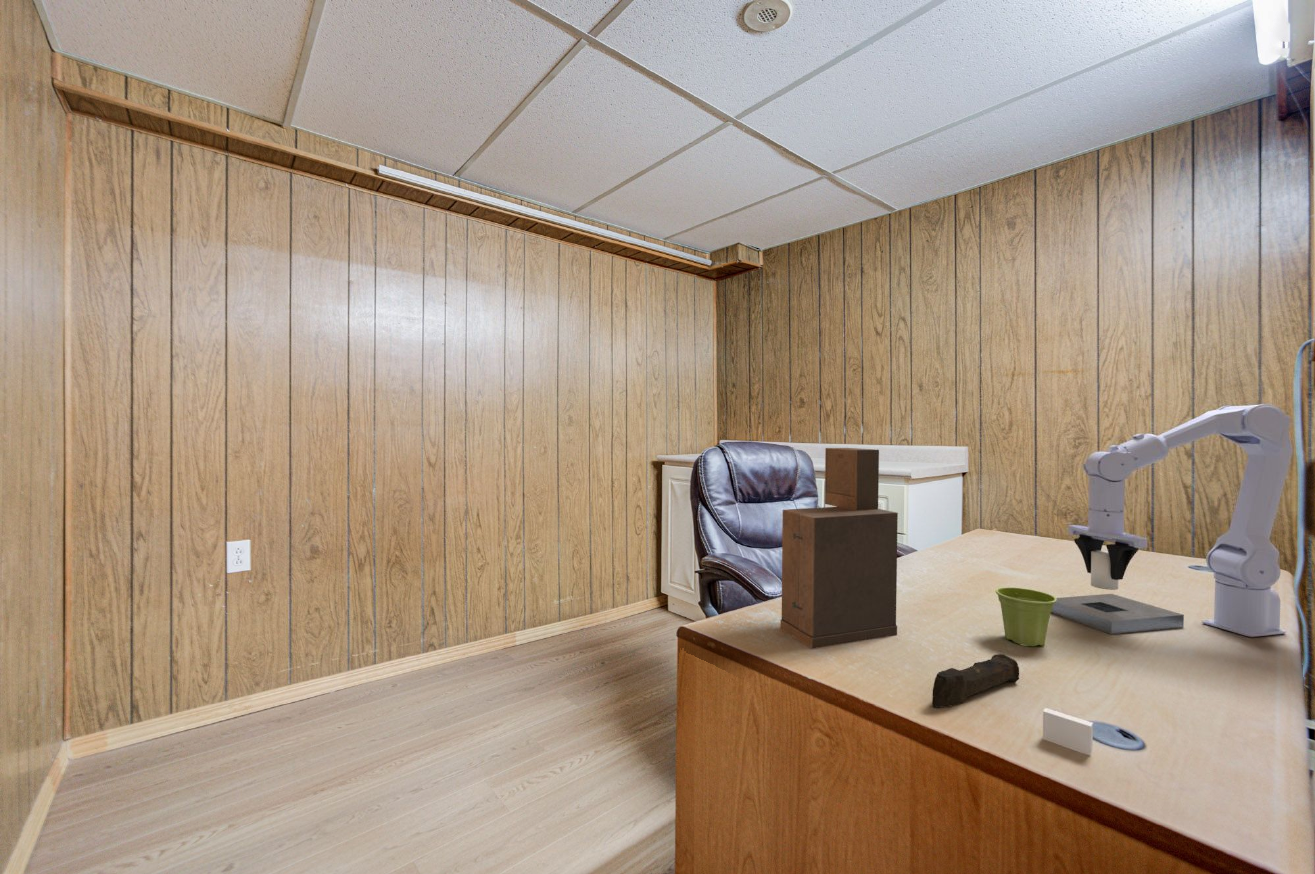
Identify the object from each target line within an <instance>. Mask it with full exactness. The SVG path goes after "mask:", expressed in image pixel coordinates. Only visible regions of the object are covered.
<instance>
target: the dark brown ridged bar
mask: <svg viewBox="0 0 1315 874" xmlns="http://www.w3.org/2000/svg"><path fill="white" fill-rule="evenodd" d="M1019 680H1020V667H1019V663H1018V662H1017V660H1016V659H1014V658H1012V657H1010V656H1008V655H1006V654H1005V653H1004V654H1002V653H998V654H993V655H992V656H991V659H990V658H989V659H987V660H983V661H978V662H974V663H973V664H972V666H969V667H966V668H963V669H961V670H960V669H957V668H954V667H951V668H950V667H949V668H947V669H944V670H941V671H939V672H937V674H936V675H935V678H934V683H933V688H932V701H931V702H932V704H931V706H932V707H934V708H944V707H945V708H946V707H947V708H948V707H951V706H955V705H961V704H963V703H965V699H966V698H967V697H969V696H971V695H975V694H978V693H982V692H984V691H985V690H987V689H990V688H992V687H995V686H998V685H1000V684H1004V683H1006V682H1007V681H1008V682H1011V683H1013V684H1015V683H1016V682H1017V681H1019Z"/></svg>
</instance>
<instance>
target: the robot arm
mask: <svg viewBox="0 0 1315 874" xmlns="http://www.w3.org/2000/svg"><path fill="white" fill-rule="evenodd" d="M1291 423H1292V419H1291V418H1290V416H1288V414H1286V413H1285V412H1284V411H1283V410H1282V409H1281V408H1279V407H1278V406H1277V405H1273V404H1269V403H1261V404H1256V405H1255V404H1252V405H1224V406H1220V407H1219V408H1217V409H1212V410H1209V411H1206V412H1205V413H1203V414H1201V415H1198V416H1197V417H1195V418H1193V419H1190V420H1189V421H1186V422H1184V423H1182V424H1179V425H1177V426H1176V427H1174V428H1171V429H1169V430H1166V431H1165V432H1163V433H1160V434H1158V435H1156V434H1152V433H1145V434H1144V433H1137V434H1134V435H1132V439H1130V440H1128V441H1125V442H1123V443H1121V444H1118V445H1114V444H1113V445H1109V447H1108V451H1096V452H1093V453H1092V454H1090V455H1089V456H1088V457H1087V458H1086V459H1085V463H1083V464H1082V467H1083V470H1084V473H1086V475H1087V476H1088V480H1089V481H1088V484H1089V485H1088V513H1087V514H1088V518H1087V526H1083V525H1076V524H1072V525H1071V524H1070V525H1068V529H1067V531H1068V532H1067V533H1068V535H1073V536H1078V537H1077V538H1074V540H1073V541H1074V543H1075V545H1076V546H1077V548H1078V550H1079V552H1080V553H1081V555H1082V558H1083V562H1084V565H1085V568H1086V572H1087V573H1088V574H1091V551H1094V550H1099V551H1102V548H1103V545H1104V543H1105V542H1110V543H1111V544H1106V545H1105V547H1106V549H1107V550H1106V551H1108V553H1109V557H1110V564H1111V579H1114V580H1118V581H1119V580H1123V579H1124V576H1125V573H1126V571H1127V568H1128V565H1129V563H1130V562H1131V561H1132V559H1133V557H1134V556H1135V555H1136V554H1137V552H1139V549H1148V538H1147V537H1142V536H1138V535H1134V534H1131V533H1128V532H1125V499H1126V498H1125V497H1126V495H1125V494H1126V493H1125V492H1126V487H1125V486H1126V480H1127V479H1128V478H1130V476H1132V474H1133V472H1135V471H1138V470H1141V469H1142V468H1145V467H1147V466H1149V465H1150V466H1151V465H1152V464H1154V463H1157V462H1160V461H1162V460H1165V459H1166V458H1167V456H1168V455H1169V451H1170V450H1171V449H1175V448H1178V447H1180V446H1183V445H1186V444H1189V443H1191V442H1195V441H1197V440H1201V439H1203V438H1206V437H1209V436H1211V435H1215V434H1216V435H1217V434H1218V435H1219V436H1220V437H1223V438H1225V439H1227V440H1229V441H1231V442H1232V443H1234V444H1236V445H1238V446H1239V447H1240V448H1241V450H1243V451H1244V452H1246V454H1247V455H1248V458H1247V462H1246V464H1245V465H1246V466H1245V469H1244V473H1243V477H1242V481H1241V485H1240V488H1239V492H1238V495H1237V499H1236V504H1235V507H1234V510H1233V515H1232V517H1231V522H1230V524H1229V525H1230V526H1229V529H1228V531H1226V532H1225V533H1223V534H1221V535H1220V536H1219V537H1217V539H1216V541H1215V543H1214V545H1213V547H1212V548H1211V549H1210V550H1209V551H1208V552H1207V555H1206V557H1205V562H1206V563H1205V564H1206V566H1207V568H1208V569H1209V570H1210V571H1211V573H1213V579H1214V606H1213V607H1214V609H1213V610H1214V611H1213V612H1214V613H1213V619H1204V620H1201V623H1203V624H1204V625H1208V626H1211V627H1215V628H1218V629H1220V630H1221V629H1222V630H1225V631H1228V632H1232V633H1235V634H1239V635H1242V636H1246V637H1248V638H1249V637H1250V638H1254V637H1255V638H1256V637H1263V636H1272V635H1274V636H1275V635H1283V634H1286V633H1287V631H1286V630H1284V629H1281V627H1280V626H1281V598H1280V596H1279V594H1278V592H1277V591H1276V590H1275V589H1274V588H1272V586H1273V585H1275V584H1276V583H1277V582H1278V581H1279V579H1280V577H1281V567H1280V564H1279V557H1280V552H1279V550H1278V549H1277V548H1276V546H1275V545H1274V544H1273V543H1272V542H1271V540H1270V538H1271V535H1272V530H1273V526H1274V523H1275V520H1276V516H1277V513H1278V512H1277V511H1278V509H1279V508H1278V507H1279V506H1280V501H1281V497H1282V494H1283V491H1284V487H1285V482H1286V478H1287V475H1288V471H1289V468H1290V464H1291V461H1292V457H1293V453H1294V448H1293V443H1292V441H1291V436H1290V433H1289V429H1290V427H1291Z"/></svg>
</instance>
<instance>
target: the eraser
mask: <svg viewBox="0 0 1315 874" xmlns="http://www.w3.org/2000/svg"><path fill="white" fill-rule="evenodd" d="M1042 712H1043V713H1042V740H1044V741H1046V742H1050V743H1053V744H1056V745H1059V746H1060V747H1064V748H1066V749H1070V750H1073V751H1076V752H1079V753H1081V754H1083V755H1087V756H1091V755H1092V753H1093V741H1094V737H1093V736H1094V735H1093V734H1094V722H1091V721H1088V720H1085V719H1081V718H1079V717H1075V716H1073V715H1069V714H1066V713H1063V712H1060V711H1056V710H1053V709H1051V708H1046V707H1045V708H1044V709H1043V710H1042Z"/></svg>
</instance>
